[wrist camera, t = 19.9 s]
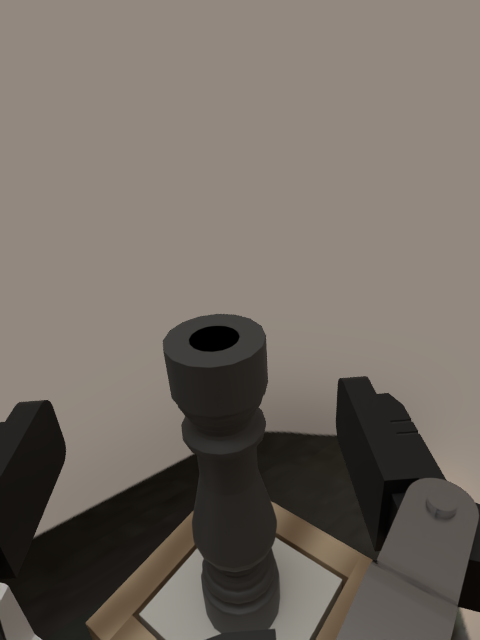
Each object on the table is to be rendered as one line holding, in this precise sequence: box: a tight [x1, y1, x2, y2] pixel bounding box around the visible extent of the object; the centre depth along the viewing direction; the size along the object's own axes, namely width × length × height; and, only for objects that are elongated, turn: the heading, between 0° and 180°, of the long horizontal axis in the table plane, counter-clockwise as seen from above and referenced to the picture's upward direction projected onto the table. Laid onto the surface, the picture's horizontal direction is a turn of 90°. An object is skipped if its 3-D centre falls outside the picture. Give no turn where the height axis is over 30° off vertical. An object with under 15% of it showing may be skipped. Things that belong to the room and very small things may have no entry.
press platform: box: [139, 537, 342, 640], centre depth 36 cm, size 12×12×2 cm
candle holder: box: [163, 314, 280, 633], centre depth 30 cm, size 6×6×25 cm
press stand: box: [86, 502, 373, 640], centre depth 37 cm, size 18×18×3 cm
